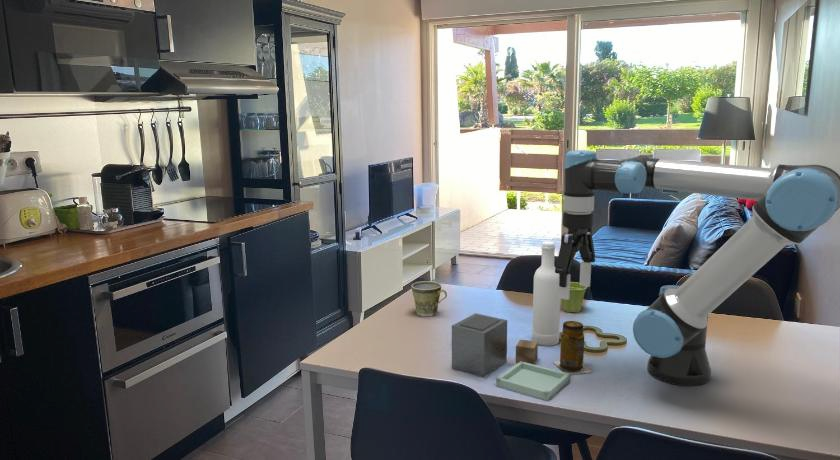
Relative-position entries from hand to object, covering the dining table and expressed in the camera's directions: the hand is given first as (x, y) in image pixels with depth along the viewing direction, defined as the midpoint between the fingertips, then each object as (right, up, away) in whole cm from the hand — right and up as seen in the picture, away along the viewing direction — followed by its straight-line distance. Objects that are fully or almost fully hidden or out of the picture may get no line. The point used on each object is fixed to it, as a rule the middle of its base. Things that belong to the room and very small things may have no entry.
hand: (574, 292), depth 163 cm
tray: (-12, -22, -5) cm, 26 cm away
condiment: (0, -21, +4) cm, 21 cm away
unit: (-24, -20, +6) cm, 32 cm away
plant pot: (+11, -11, +50) cm, 52 cm away
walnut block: (-11, -20, +9) cm, 24 cm away
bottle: (-3, -17, +23) cm, 28 cm away
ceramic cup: (-37, -12, +47) cm, 61 cm away
